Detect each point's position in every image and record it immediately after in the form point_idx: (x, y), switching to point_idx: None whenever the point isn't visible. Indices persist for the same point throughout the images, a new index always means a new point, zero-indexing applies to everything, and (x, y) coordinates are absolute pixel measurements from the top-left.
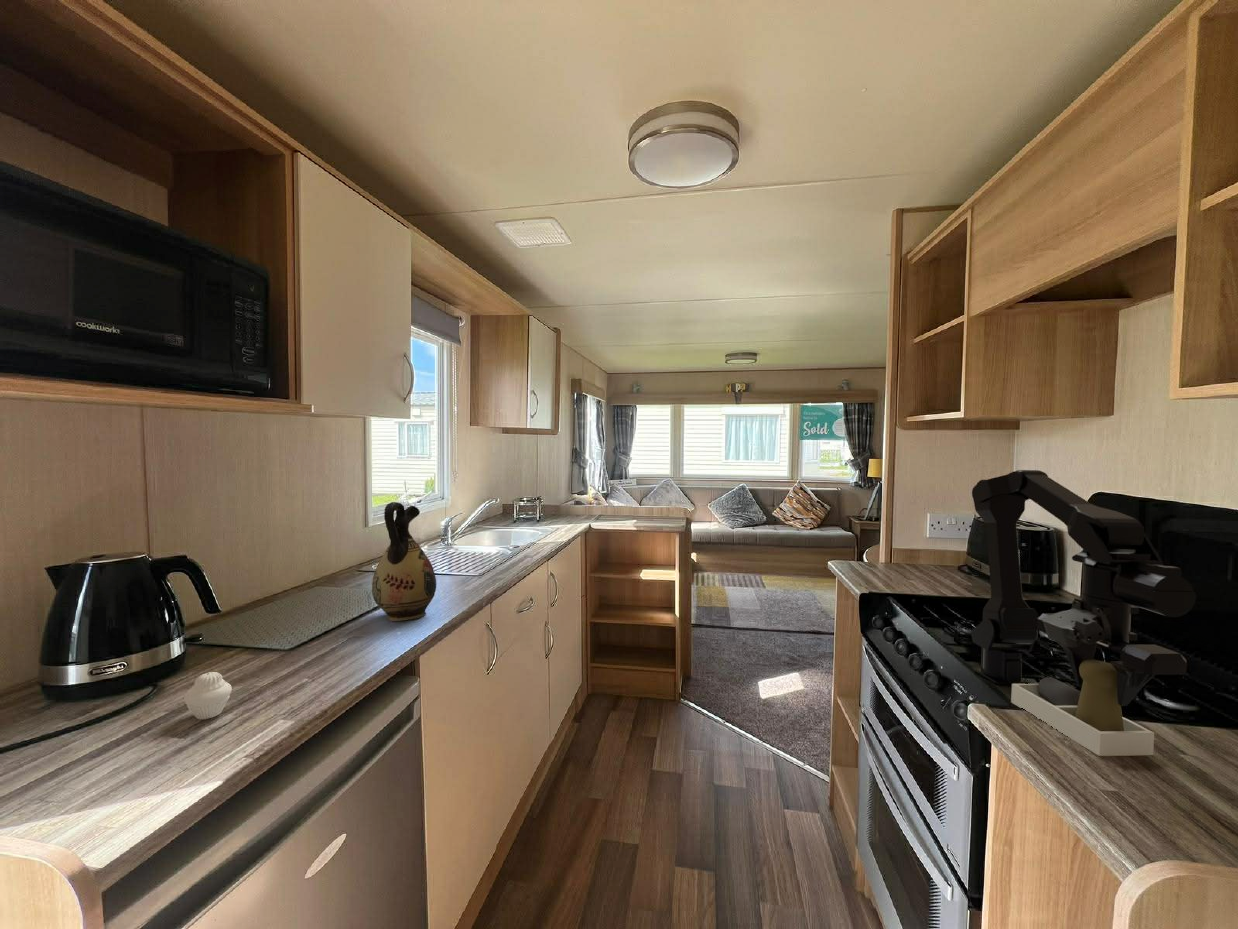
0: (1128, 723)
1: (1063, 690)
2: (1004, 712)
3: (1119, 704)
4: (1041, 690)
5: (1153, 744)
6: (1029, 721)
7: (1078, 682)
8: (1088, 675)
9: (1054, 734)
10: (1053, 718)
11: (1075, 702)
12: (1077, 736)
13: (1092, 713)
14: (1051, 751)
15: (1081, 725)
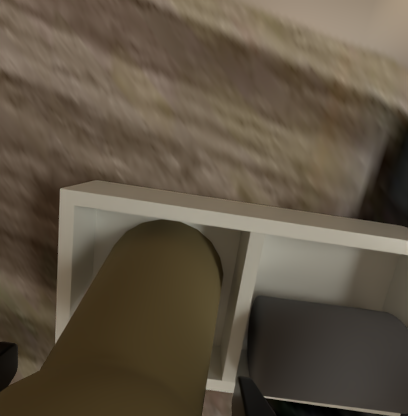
0: None
1: (316, 347)
2: (359, 139)
3: (6, 343)
4: (381, 317)
5: None
6: (292, 167)
7: (241, 384)
8: (48, 405)
9: (213, 169)
10: (247, 207)
11: (262, 331)
12: (160, 192)
13: (124, 258)
14: (135, 58)
15: (138, 198)
